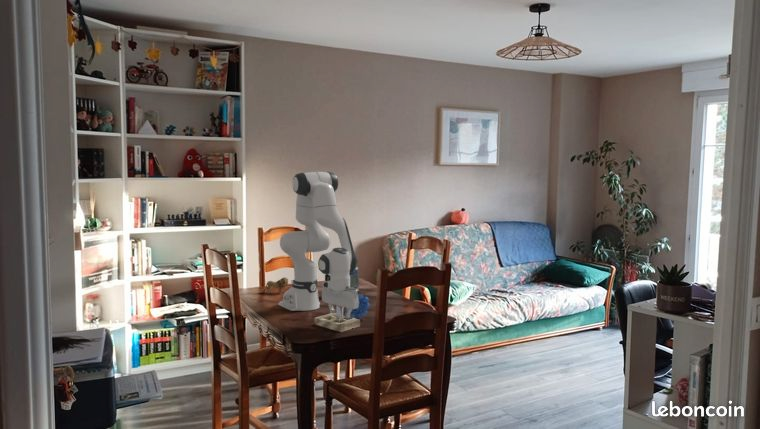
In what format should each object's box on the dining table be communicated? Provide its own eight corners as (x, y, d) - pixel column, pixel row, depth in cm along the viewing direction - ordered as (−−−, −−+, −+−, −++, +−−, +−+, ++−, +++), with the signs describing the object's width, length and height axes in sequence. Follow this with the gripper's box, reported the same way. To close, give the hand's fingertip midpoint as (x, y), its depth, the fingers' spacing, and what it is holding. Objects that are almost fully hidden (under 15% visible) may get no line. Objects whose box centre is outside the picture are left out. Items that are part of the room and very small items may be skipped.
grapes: (369, 316, 269) (369, 291, 268) (370, 320, 262) (370, 295, 261) (344, 316, 267) (344, 292, 266) (345, 320, 261) (345, 295, 259)
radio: (327, 299, 301) (327, 272, 299) (318, 296, 307) (318, 269, 306) (362, 293, 315) (362, 267, 313) (353, 290, 321) (353, 264, 320)
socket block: (314, 324, 255) (314, 317, 254) (333, 318, 264) (333, 312, 263) (341, 332, 244) (341, 324, 243) (360, 326, 253) (360, 319, 252)
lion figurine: (289, 292, 315) (289, 276, 314) (287, 294, 309) (286, 278, 309) (263, 291, 316) (263, 275, 315) (261, 293, 311) (260, 277, 310)
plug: (334, 327, 250) (334, 305, 249) (339, 325, 253) (339, 304, 252) (339, 329, 248) (339, 306, 247) (344, 327, 251) (344, 305, 250)
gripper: (362, 287, 244) (361, 318, 245) (329, 280, 257) (329, 309, 259) (352, 289, 239) (351, 321, 241) (319, 282, 253) (319, 312, 254)
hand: (340, 315), depth 250 cm, fingers open, 8 cm apart
